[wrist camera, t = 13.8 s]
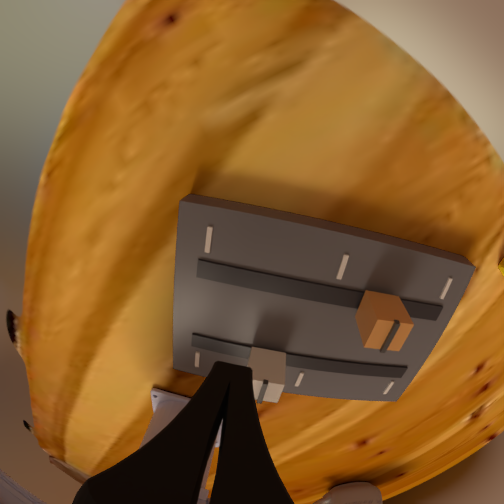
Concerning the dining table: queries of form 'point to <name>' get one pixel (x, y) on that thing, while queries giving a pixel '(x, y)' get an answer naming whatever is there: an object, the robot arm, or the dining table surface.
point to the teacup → (352, 494)
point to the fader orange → (383, 321)
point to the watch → (501, 266)
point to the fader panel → (304, 297)
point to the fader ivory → (267, 373)
